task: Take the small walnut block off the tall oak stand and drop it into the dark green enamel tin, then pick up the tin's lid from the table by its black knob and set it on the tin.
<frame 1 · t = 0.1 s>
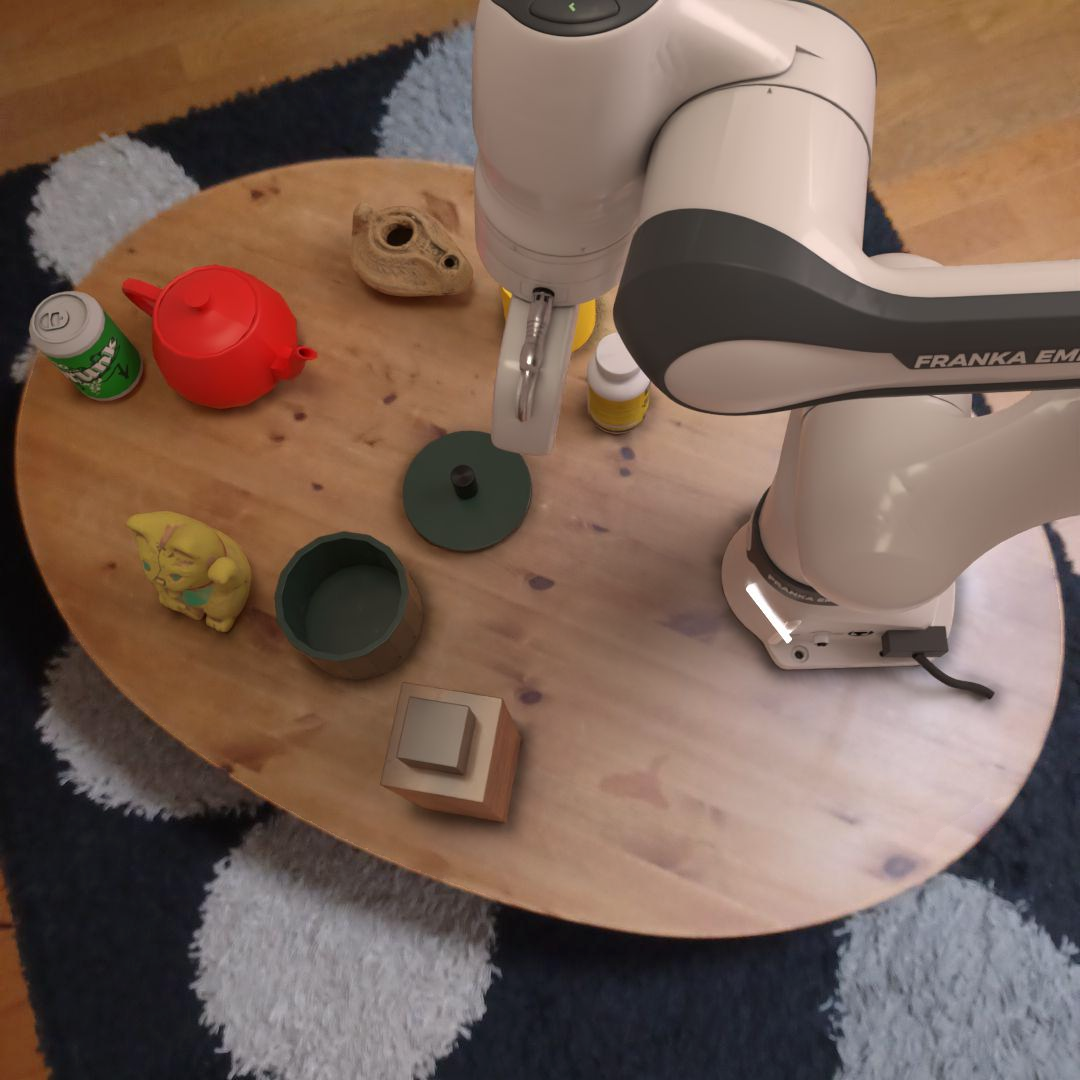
hand: (545, 348, 66), 39 cm above the table, tool pointing down, fingers open, 8 cm apart
teapot: (243, 360, 112), on the table
figurine: (223, 587, 103), on the table
tin lid: (467, 491, 105), point 1 cm above the table
block: (441, 741, 77), point 20 cm above the table, touching stand
soda can: (115, 376, 112), on the table
oil lamp: (418, 272, 115), on the table
stand: (472, 772, 96), on the table
pill bottle: (617, 409, 108), on the table
tin: (361, 619, 101), on the table
yellow cylinder with hole: (550, 319, 112), on the table
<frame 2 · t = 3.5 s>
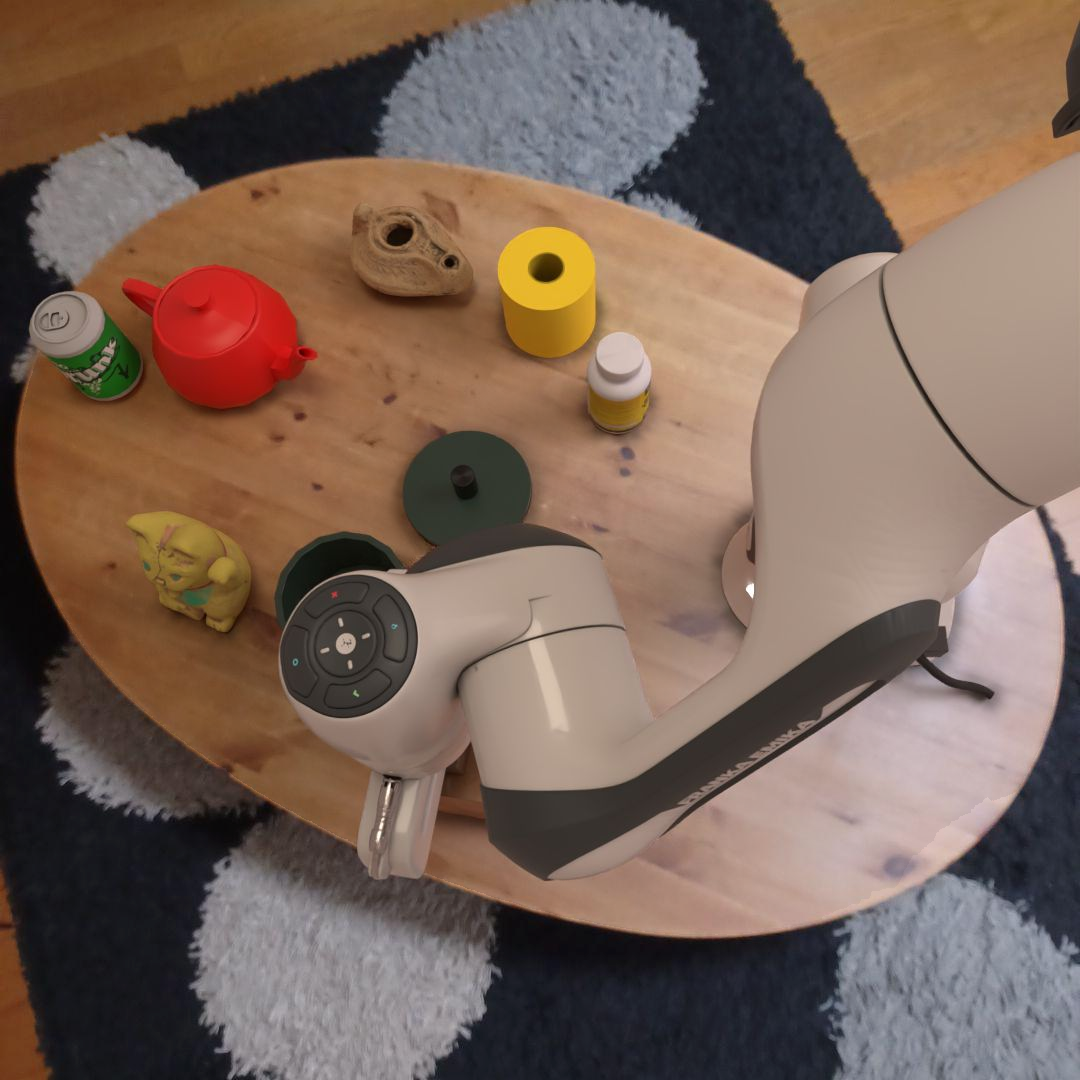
hand: (439, 737, 75), 21 cm above the table, tool pointing down, fingers closed on block, 4 cm apart
block: (441, 741, 77), point 20 cm above the table, touching gripper, stand
everything else where it was.
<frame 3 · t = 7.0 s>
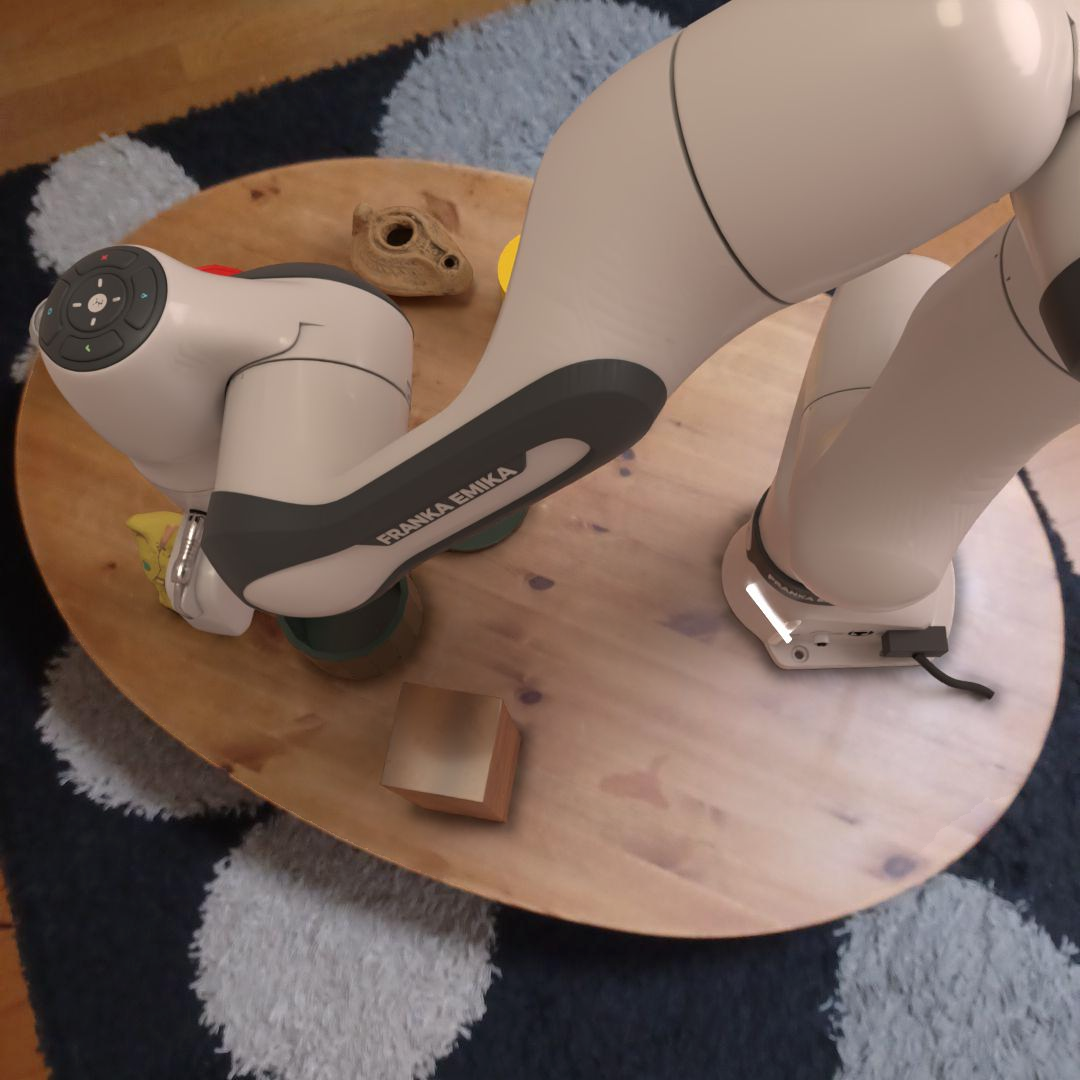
hand: (281, 523, 75), 27 cm above the table, tool pointing down, fingers closed on block, 4 cm apart
block: (285, 530, 77), point 26 cm above the table, touching gripper
everything else where it was.
when the fingers open (11 cm above the table, at t = 10.8 s): block drops 9 cm, resting on tin.
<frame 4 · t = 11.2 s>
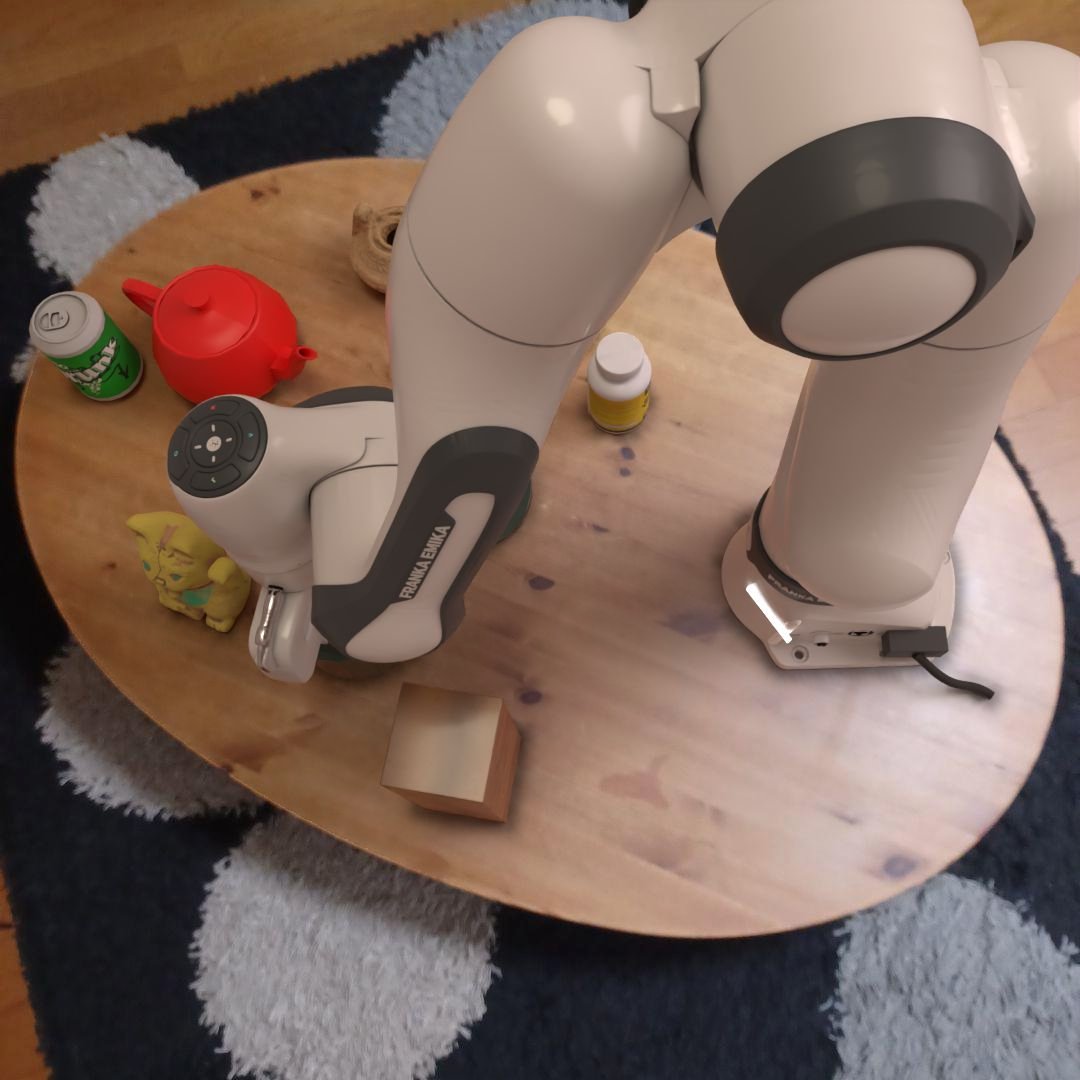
hand: (333, 584, 90), 12 cm above the table, tool pointing down, fingers open, 8 cm apart
block: (360, 617, 101), point 1 cm above the table, touching tin
everything else where it was.
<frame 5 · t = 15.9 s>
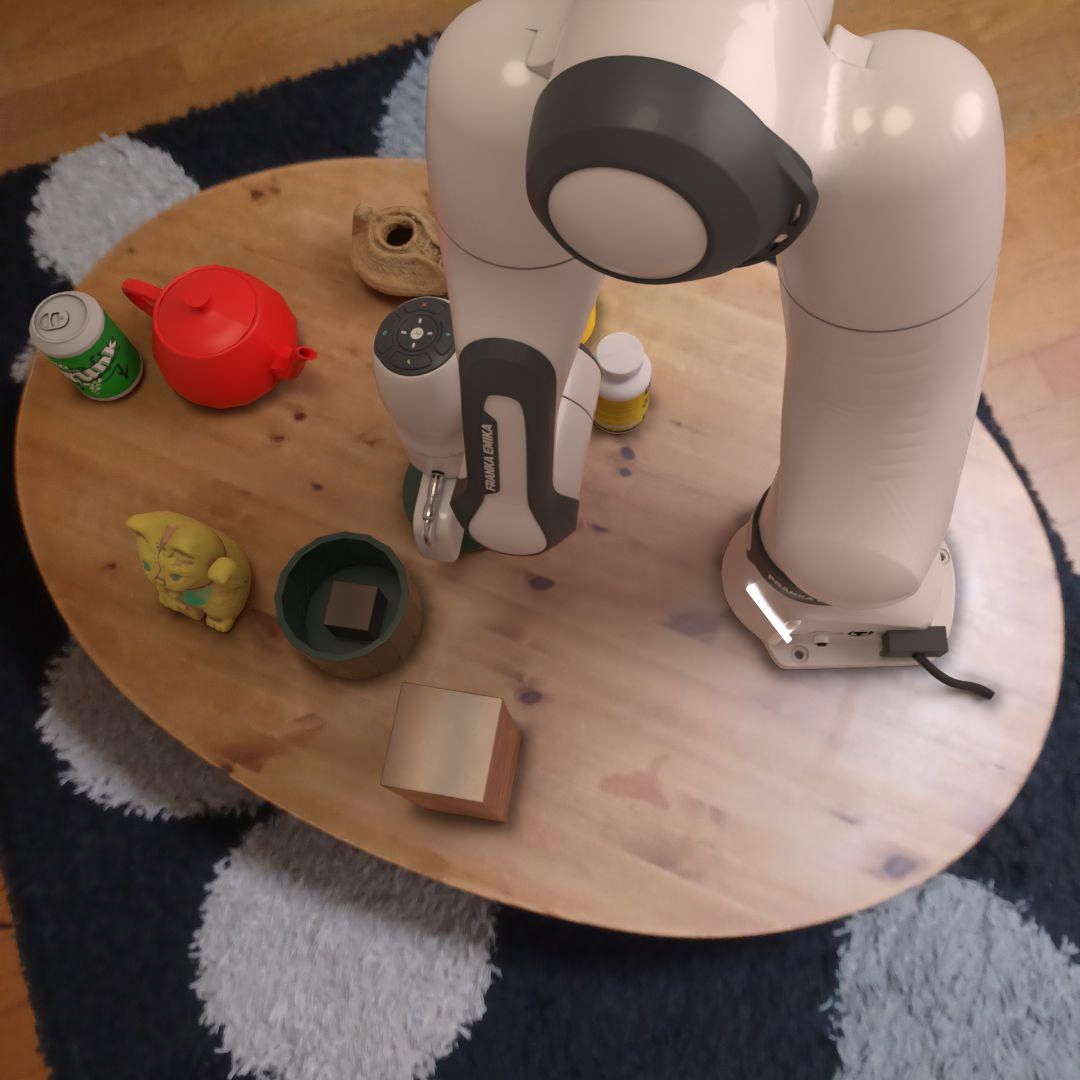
hand: (466, 486, 103), 2 cm above the table, tool pointing down, fingers closed on tin lid, 2 cm apart
tin lid: (467, 491, 105), point 1 cm above the table, touching gripper
everything else where it was.
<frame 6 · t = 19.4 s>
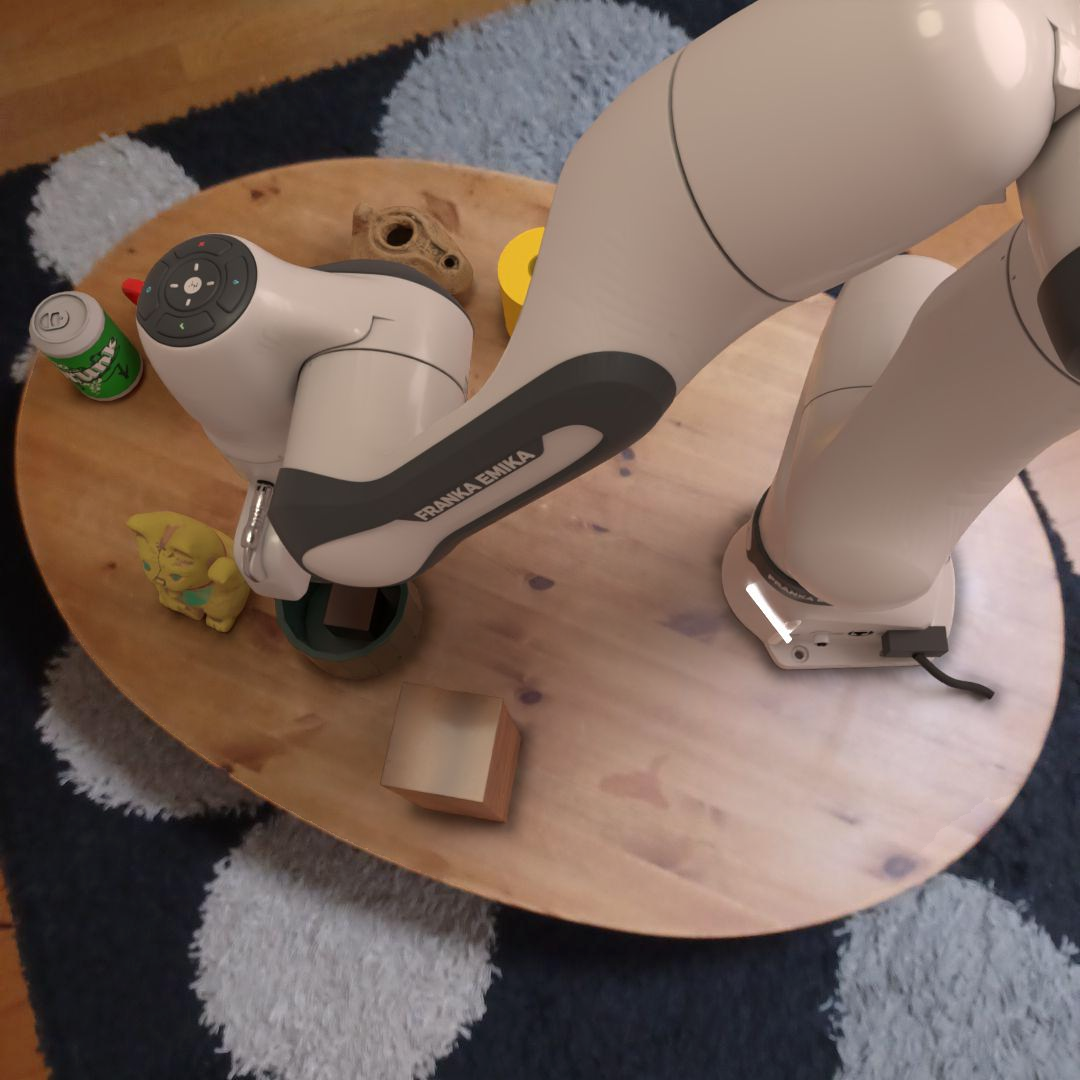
hand: (330, 498, 80), 23 cm above the table, tool pointing down, fingers closed on tin lid, 2 cm apart
tin lid: (334, 504, 81), point 22 cm above the table, touching gripper
everything else where it was.
when the fingers open (10 cm above the table, at t = 23.1 s): tin lid stays where it is, resting on tin.
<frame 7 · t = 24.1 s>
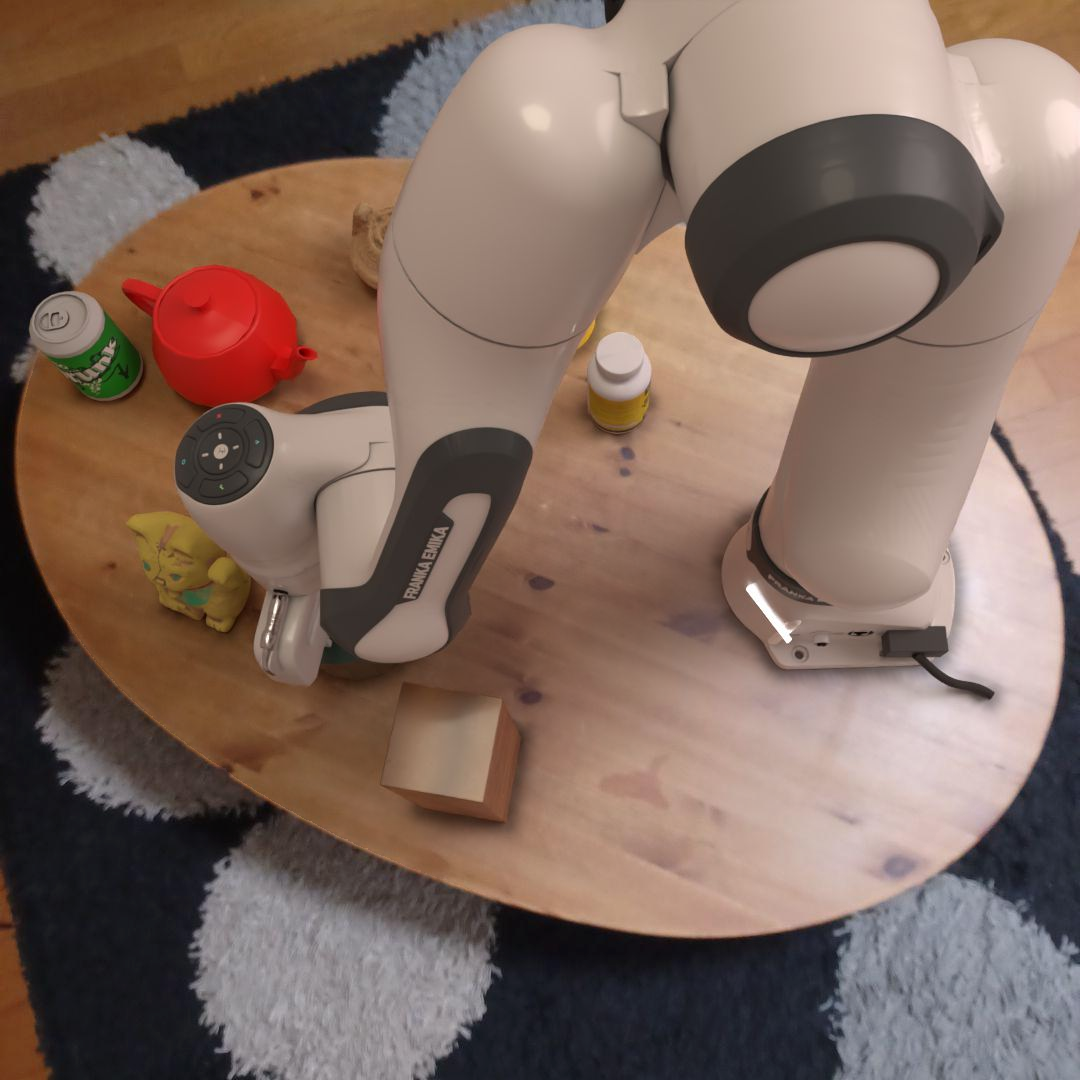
hand: (336, 588, 91), 10 cm above the table, tool pointing down, fingers open, 8 cm apart
tin lid: (339, 594, 93), point 8 cm above the table, touching tin
everything else where it was.
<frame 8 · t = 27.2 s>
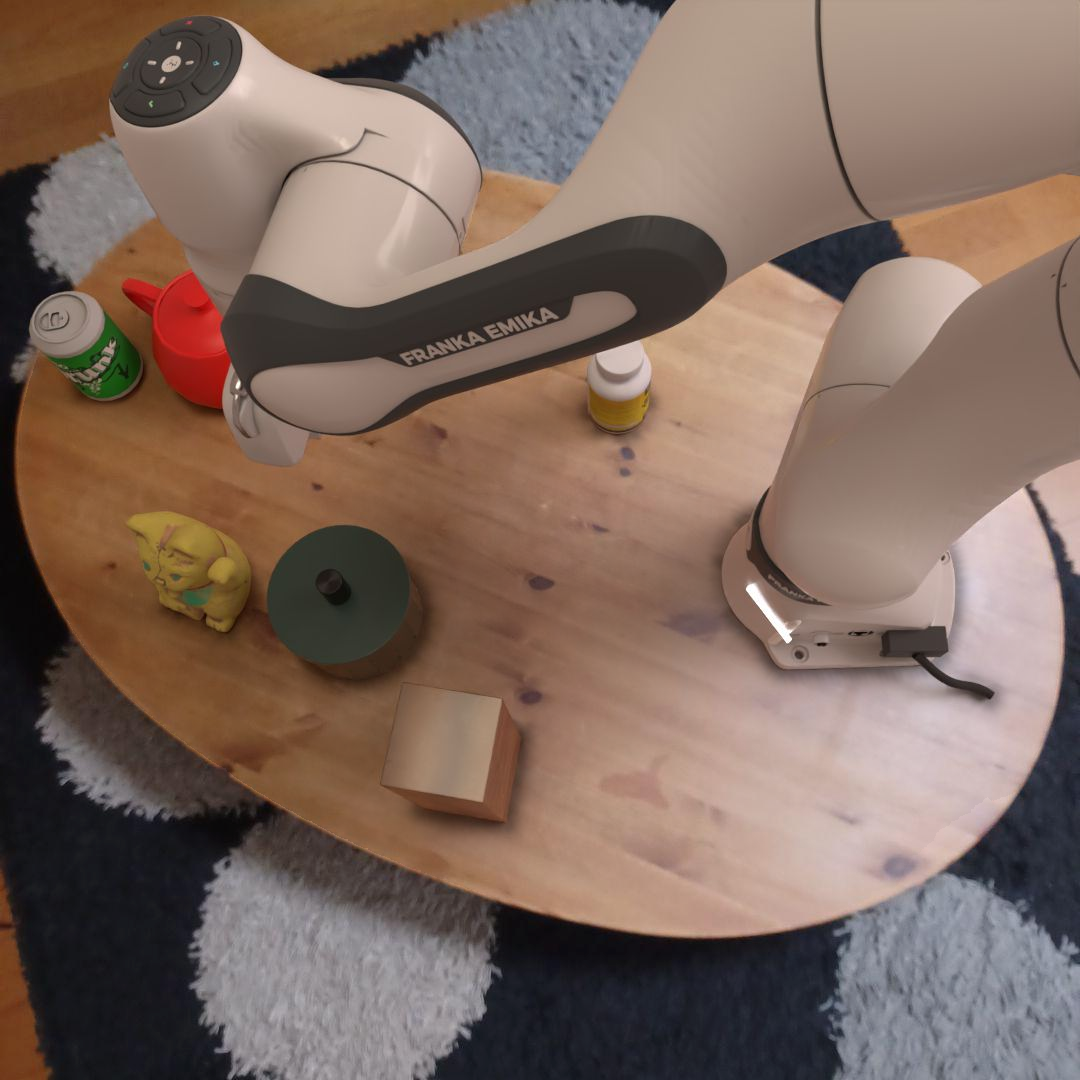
hand: (328, 373, 75), 31 cm above the table, tool pointing down, fingers open, 8 cm apart
nothing on the table moved.
at the end: tin lid 0.1 cm off-centre on the tin, point 8.5 cm above the tin's base; tin lid tilted 0°; block inside the target area in the tin (0.1 cm from its centre), point 0.5 cm above the tin's base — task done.
